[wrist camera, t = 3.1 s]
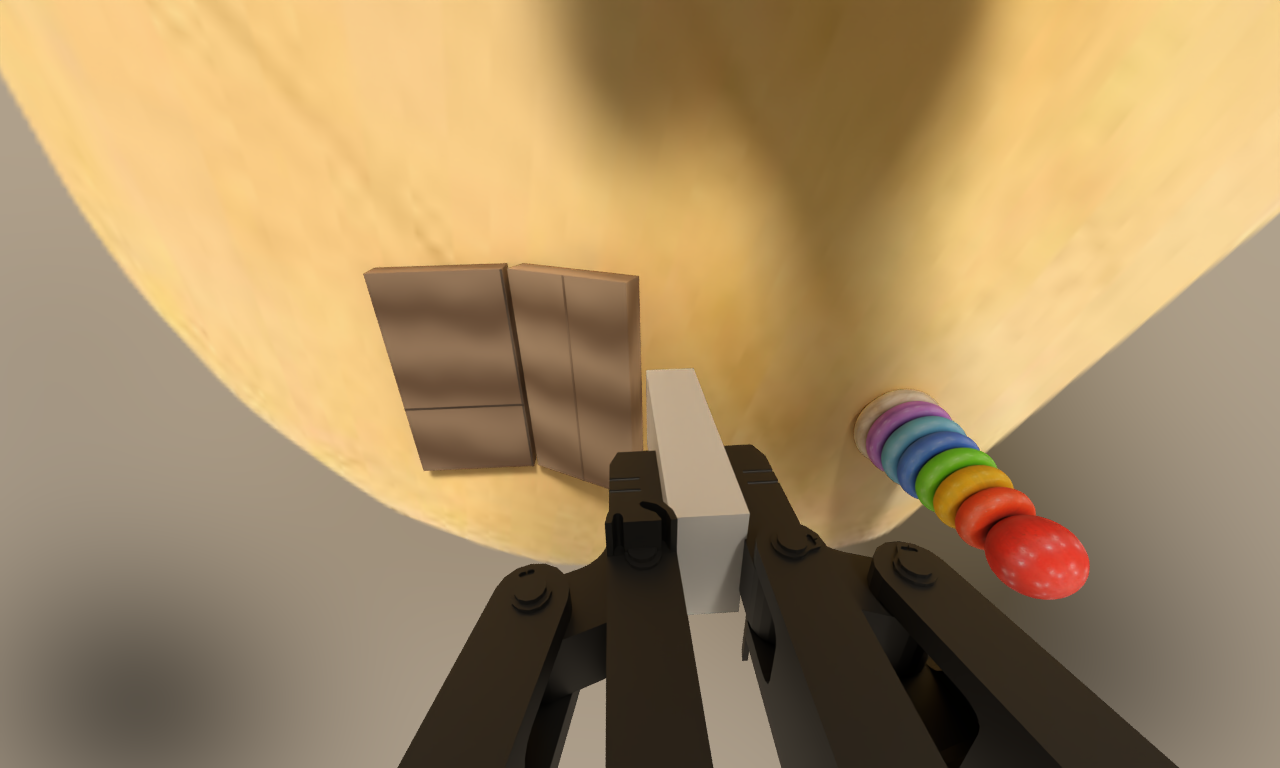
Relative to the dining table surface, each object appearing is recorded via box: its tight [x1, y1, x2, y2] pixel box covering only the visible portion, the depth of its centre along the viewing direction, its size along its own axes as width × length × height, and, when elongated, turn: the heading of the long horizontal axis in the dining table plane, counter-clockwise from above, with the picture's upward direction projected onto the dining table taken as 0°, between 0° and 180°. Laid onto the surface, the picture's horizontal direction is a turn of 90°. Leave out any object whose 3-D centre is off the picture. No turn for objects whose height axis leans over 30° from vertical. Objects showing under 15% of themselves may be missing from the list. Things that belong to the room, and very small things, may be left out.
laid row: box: [363, 263, 537, 471], centre depth 38 cm, size 18×10×2 cm, turn 2°
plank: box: [507, 263, 643, 489], centre depth 36 cm, size 18×10×2 cm
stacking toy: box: [854, 389, 1090, 600], centre depth 35 cm, size 8×8×19 cm
